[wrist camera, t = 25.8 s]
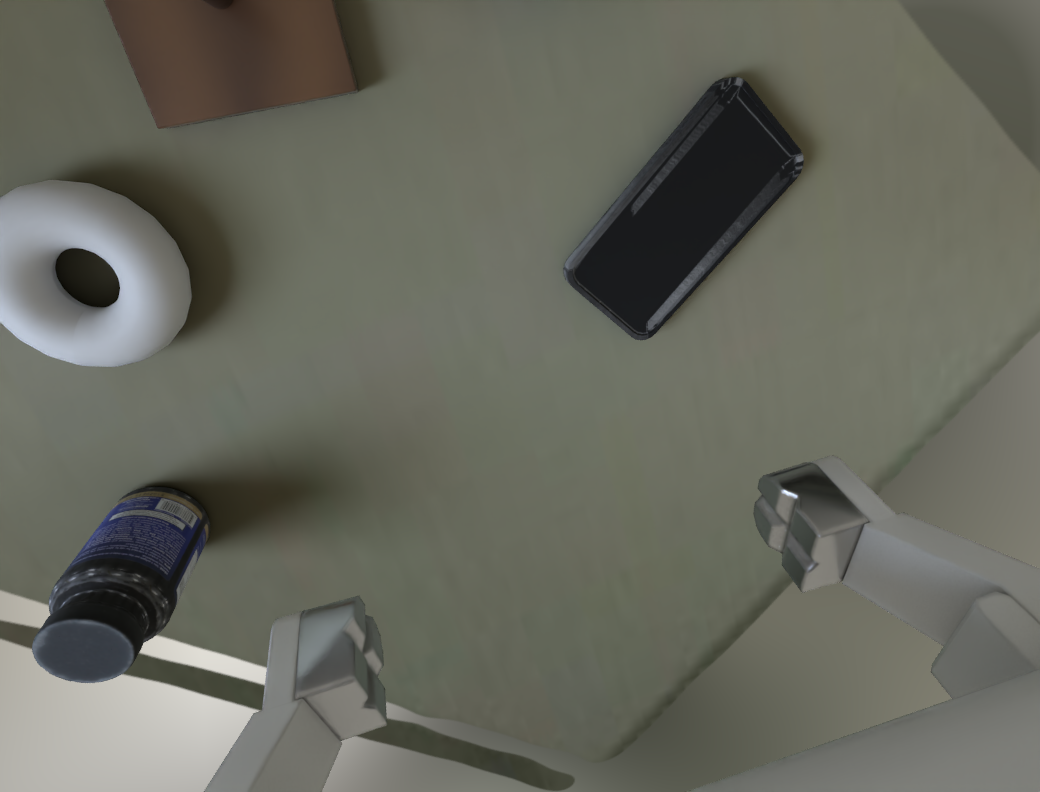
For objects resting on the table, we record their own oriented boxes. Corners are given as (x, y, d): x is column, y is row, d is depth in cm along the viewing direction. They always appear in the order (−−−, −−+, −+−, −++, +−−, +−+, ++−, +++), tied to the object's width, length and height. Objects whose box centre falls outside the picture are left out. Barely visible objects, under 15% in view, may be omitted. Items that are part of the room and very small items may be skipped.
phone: (810, 162, 35) (643, 346, 38) (799, 161, 36) (637, 341, 39) (733, 65, 32) (558, 275, 35) (723, 67, 33) (554, 271, 36)
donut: (171, 171, 31) (-40, 182, 29) (145, 176, 28) (-91, 188, 26) (220, 345, 35) (39, 362, 34) (203, 366, 32) (3, 387, 30)
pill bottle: (95, 497, 38) (-15, 629, 28) (187, 472, 38) (110, 593, 28) (143, 565, 41) (58, 706, 31) (228, 541, 41) (171, 673, 31)
